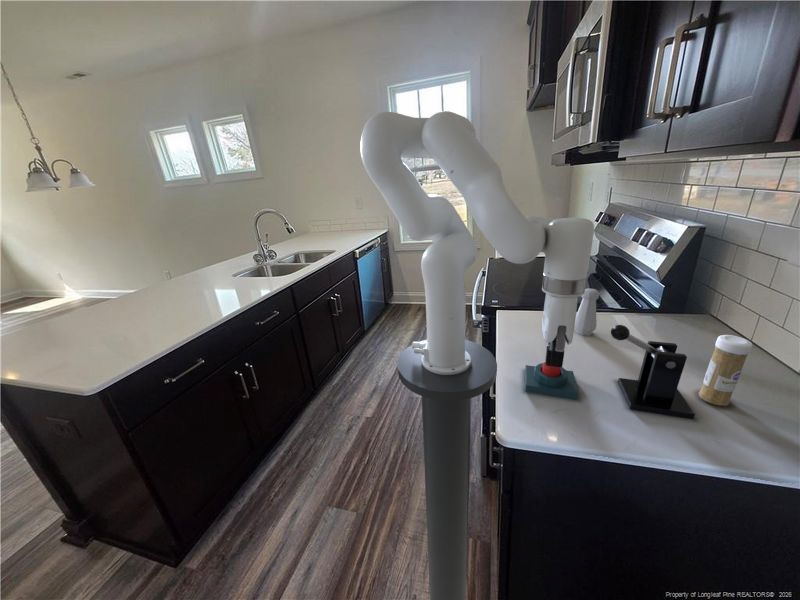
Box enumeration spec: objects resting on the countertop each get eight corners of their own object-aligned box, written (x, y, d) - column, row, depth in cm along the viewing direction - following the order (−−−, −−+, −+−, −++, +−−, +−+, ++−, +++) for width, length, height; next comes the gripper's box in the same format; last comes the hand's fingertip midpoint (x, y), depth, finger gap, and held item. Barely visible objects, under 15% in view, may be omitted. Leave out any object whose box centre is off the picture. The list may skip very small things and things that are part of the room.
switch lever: (609, 337, 61) (620, 326, 59) (605, 330, 63) (616, 319, 62) (668, 370, 59) (681, 359, 58) (662, 361, 62) (674, 350, 61)
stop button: (542, 375, 68) (543, 369, 67) (541, 366, 71) (542, 360, 70) (560, 378, 67) (562, 371, 66) (559, 368, 70) (560, 362, 69)
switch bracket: (629, 409, 62) (643, 357, 57) (617, 382, 69) (628, 334, 65) (693, 419, 58) (713, 365, 54) (673, 389, 66) (688, 340, 62)
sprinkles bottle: (723, 410, 60) (747, 348, 55) (693, 397, 64) (713, 338, 59) (733, 401, 62) (757, 340, 57) (703, 389, 66) (723, 331, 61)
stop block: (525, 391, 68) (526, 378, 67) (524, 371, 75) (526, 358, 74) (577, 399, 65) (580, 385, 64) (571, 377, 72) (574, 364, 71)
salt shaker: (567, 329, 93) (573, 288, 88) (583, 326, 94) (590, 285, 89) (583, 338, 88) (591, 294, 83) (599, 334, 89) (608, 291, 84)
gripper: (540, 272, 69) (533, 345, 76) (545, 296, 56) (536, 382, 63) (579, 273, 67) (568, 349, 73) (593, 298, 54) (578, 388, 60)
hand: (553, 364), depth 68 cm, fingers closed
